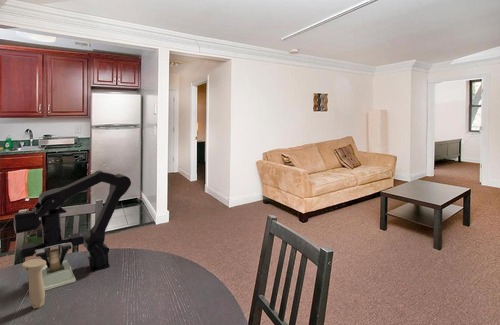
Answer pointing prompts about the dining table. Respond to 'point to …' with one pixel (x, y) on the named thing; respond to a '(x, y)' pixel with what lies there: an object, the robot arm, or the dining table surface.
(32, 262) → the handle
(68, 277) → the socket plate
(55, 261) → the dowel
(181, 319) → the dining table surface
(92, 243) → the robot arm
